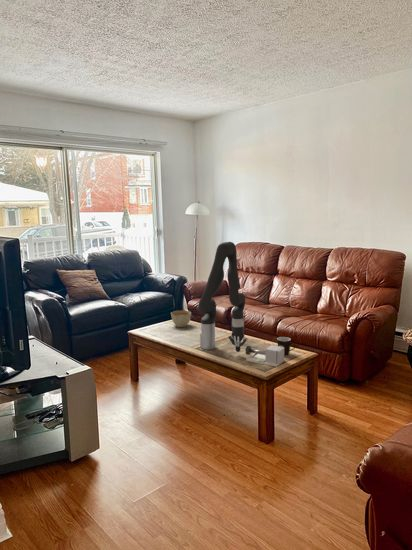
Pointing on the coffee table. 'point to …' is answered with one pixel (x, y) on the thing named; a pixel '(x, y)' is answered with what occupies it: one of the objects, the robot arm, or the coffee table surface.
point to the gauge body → (269, 356)
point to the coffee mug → (285, 344)
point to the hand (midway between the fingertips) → (238, 351)
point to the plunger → (253, 351)
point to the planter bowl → (181, 318)
